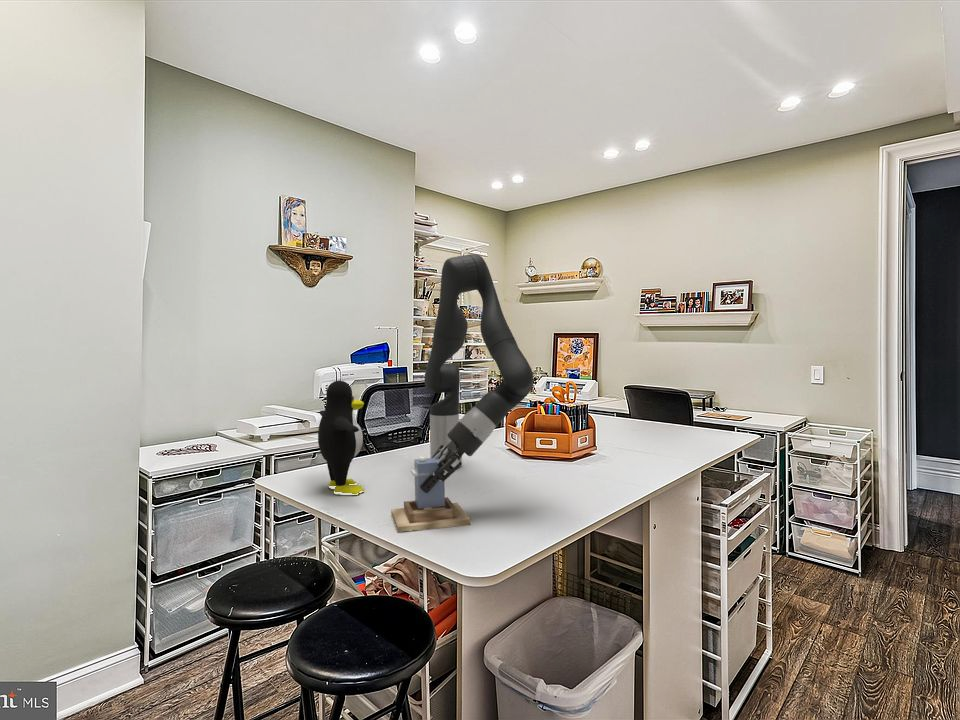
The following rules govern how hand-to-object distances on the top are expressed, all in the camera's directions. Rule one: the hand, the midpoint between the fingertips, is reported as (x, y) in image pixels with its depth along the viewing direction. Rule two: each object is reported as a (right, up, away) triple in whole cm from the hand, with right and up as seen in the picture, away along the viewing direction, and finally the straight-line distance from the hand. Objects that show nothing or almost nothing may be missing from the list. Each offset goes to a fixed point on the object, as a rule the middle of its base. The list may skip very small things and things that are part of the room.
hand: (421, 487), depth 116 cm
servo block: (+2, -4, +1) cm, 5 cm away
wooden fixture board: (+2, -8, +1) cm, 8 cm away
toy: (-24, -7, +24) cm, 35 cm away
